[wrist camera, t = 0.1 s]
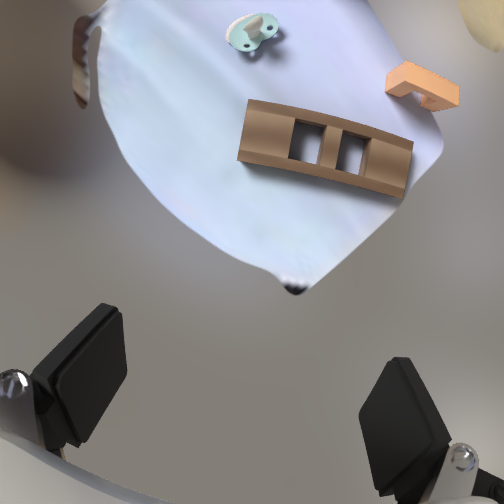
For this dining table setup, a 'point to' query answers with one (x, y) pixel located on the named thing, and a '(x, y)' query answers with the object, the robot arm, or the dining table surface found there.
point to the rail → (324, 147)
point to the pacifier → (251, 31)
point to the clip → (423, 86)
